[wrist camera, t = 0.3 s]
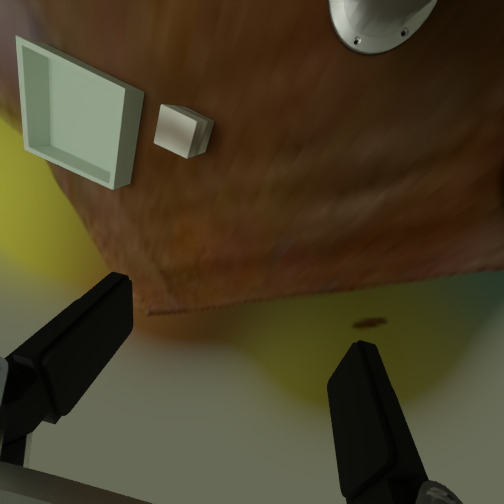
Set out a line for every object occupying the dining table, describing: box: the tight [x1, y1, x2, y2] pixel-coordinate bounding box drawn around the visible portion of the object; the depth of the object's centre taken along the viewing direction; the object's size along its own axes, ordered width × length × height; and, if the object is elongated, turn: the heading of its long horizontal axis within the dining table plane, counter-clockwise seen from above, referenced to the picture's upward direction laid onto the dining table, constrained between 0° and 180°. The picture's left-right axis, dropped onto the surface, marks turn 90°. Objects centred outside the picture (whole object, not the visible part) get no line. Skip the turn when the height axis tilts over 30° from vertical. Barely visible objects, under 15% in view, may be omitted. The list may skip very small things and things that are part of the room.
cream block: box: [154, 104, 214, 158], centre depth 36 cm, size 5×5×8 cm
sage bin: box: [16, 35, 145, 190], centre depth 39 cm, size 16×16×5 cm
